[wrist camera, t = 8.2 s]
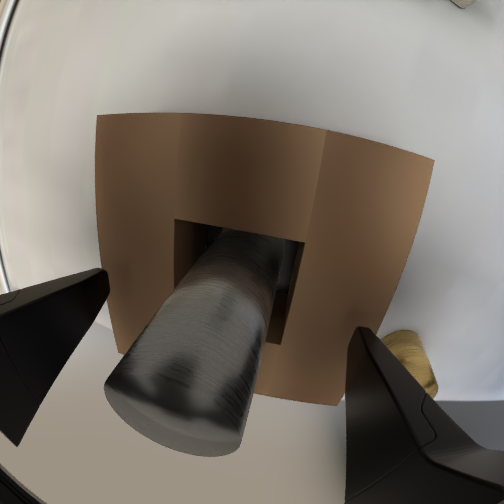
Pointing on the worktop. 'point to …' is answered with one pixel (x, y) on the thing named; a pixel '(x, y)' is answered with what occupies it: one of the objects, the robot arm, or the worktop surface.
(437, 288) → the worktop surface
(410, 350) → the short pin
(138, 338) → the long pin
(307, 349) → the hole block
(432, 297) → the worktop surface
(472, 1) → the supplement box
